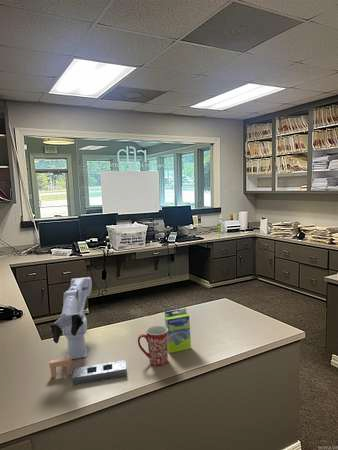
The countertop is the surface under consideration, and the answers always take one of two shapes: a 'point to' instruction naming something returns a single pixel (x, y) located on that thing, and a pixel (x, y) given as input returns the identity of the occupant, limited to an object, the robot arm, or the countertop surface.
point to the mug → (156, 345)
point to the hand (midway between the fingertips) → (64, 337)
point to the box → (178, 330)
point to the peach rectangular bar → (59, 363)
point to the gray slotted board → (99, 372)
